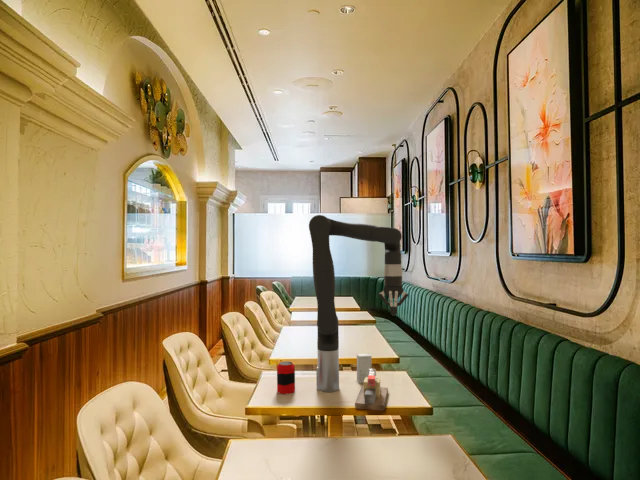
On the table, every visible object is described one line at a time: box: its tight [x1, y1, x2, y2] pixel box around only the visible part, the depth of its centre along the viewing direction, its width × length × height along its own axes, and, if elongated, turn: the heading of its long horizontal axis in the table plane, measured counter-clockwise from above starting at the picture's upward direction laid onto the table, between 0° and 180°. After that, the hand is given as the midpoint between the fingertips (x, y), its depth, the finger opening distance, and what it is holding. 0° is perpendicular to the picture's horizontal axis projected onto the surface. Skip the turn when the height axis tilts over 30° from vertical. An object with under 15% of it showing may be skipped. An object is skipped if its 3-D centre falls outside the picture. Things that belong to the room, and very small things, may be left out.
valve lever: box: [368, 367, 377, 386], centre depth 162 cm, size 13×3×3 cm, turn 172°
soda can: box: [276, 361, 296, 395], centre depth 177 cm, size 8×8×12 cm
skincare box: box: [356, 353, 372, 384], centre depth 188 cm, size 6×4×12 cm
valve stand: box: [354, 377, 389, 411], centre depth 167 cm, size 11×19×10 cm, turn 166°
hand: (393, 315), depth 177 cm, fingers closed
